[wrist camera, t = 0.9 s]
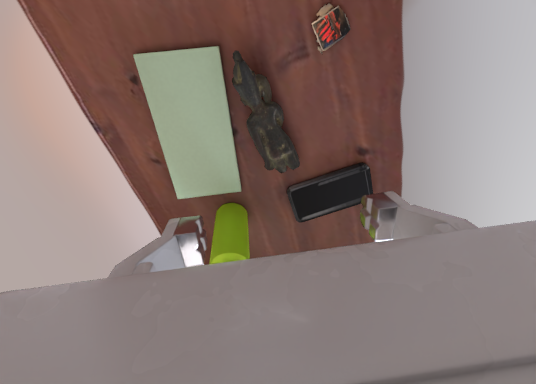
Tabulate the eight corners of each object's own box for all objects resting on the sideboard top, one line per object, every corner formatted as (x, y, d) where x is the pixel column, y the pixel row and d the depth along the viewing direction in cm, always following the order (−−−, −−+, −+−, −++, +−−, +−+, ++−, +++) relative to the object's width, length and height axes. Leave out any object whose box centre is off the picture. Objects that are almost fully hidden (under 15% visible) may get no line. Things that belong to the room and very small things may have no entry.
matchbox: (353, 26, 35) (354, 26, 34) (324, 57, 36) (325, 57, 36) (331, -4, 33) (333, -5, 32) (302, 30, 34) (303, 29, 34)
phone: (373, 199, 48) (297, 224, 49) (371, 196, 49) (296, 220, 50) (369, 162, 44) (286, 190, 45) (366, 160, 45) (285, 187, 46)
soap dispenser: (205, 220, 48) (187, 318, 31) (230, 197, 46) (225, 287, 29) (229, 236, 50) (224, 335, 33) (253, 214, 48) (262, 308, 31)
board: (136, 54, 34) (132, 54, 33) (219, 45, 34) (218, 46, 33) (179, 195, 45) (177, 199, 44) (241, 188, 45) (241, 191, 44)
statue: (296, 152, 46) (246, 36, 33) (310, 167, 42) (259, 40, 29) (266, 170, 46) (204, 61, 33) (276, 187, 42) (211, 69, 29)
